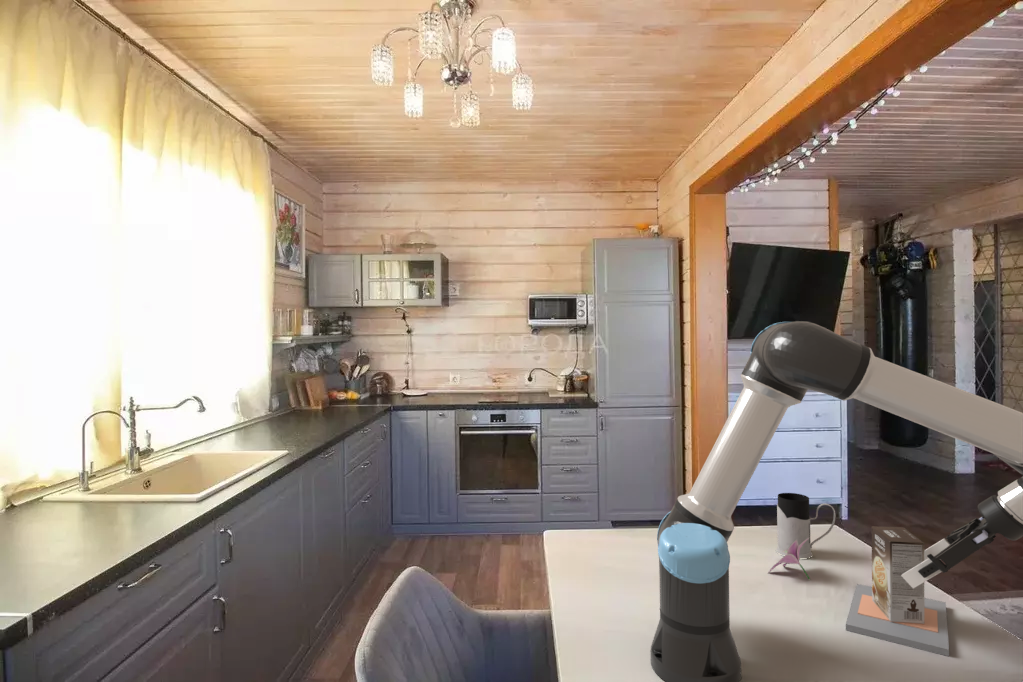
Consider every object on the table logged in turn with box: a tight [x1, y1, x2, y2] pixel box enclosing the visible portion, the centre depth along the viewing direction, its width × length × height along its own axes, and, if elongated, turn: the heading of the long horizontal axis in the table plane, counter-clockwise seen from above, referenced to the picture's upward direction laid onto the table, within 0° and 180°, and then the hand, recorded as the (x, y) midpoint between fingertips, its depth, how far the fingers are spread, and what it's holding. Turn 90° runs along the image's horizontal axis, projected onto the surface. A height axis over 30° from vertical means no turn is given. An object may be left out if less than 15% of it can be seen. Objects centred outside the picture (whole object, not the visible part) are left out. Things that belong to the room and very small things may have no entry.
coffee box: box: [871, 525, 925, 624], centre depth 115 cm, size 9×6×16 cm
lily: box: [767, 536, 811, 580], centre depth 136 cm, size 12×12×10 cm
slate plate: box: [845, 583, 950, 657], centre depth 115 cm, size 22×16×1 cm
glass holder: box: [775, 492, 836, 558], centre depth 149 cm, size 9×14×15 cm, turn 70°
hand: (915, 570), depth 113 cm, fingers open, 13 cm apart
